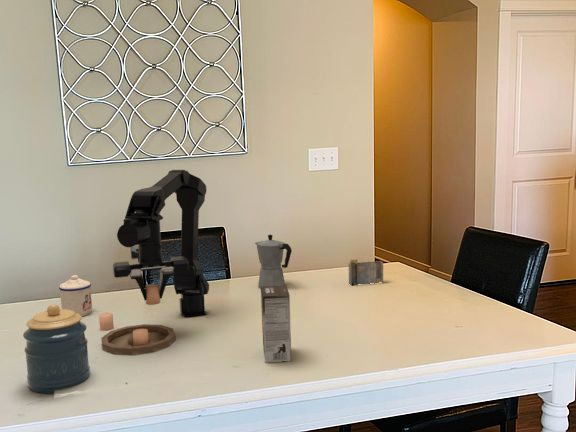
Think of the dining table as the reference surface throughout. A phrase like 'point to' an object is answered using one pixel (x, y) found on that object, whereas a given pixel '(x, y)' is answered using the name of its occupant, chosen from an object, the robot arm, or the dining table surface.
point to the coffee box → (276, 323)
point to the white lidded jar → (76, 295)
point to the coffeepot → (272, 262)
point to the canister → (56, 350)
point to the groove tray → (123, 340)
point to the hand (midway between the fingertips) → (153, 299)
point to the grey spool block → (365, 272)
